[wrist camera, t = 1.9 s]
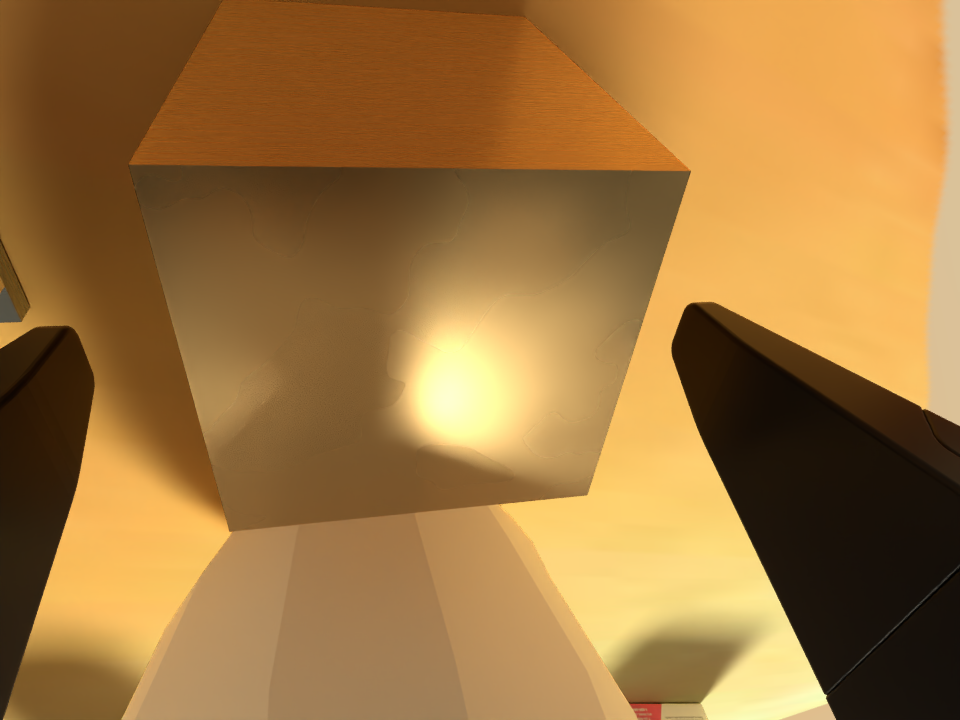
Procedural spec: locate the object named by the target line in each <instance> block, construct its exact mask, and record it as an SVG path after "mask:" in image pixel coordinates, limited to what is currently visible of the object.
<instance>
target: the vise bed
mask: <svg viewBox="0 0 960 720" xmlns="http://www.w3.org/2000/svg"><path fill="white" fill-rule="evenodd" d="M0 278H1V280H2V282H3V284H4V286H5V287H4V288H3V290H2V291H1V293H0V323H4V322H22V320H23V318H24V317H25V315H26V313H27V312H28V310H29V308H30V306H29V304H28V302H27V299H26V297H25V295H24V293H23V290H22V288H21V286H20V284H19V281H18V279H17V277H16V275H15V273H14V270H13V268H12V266H11V264H10V261H9V259H8V257H7V255H6V252H5V250H4V248H3V246H2V244H1V241H0Z"/></svg>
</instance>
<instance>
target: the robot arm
mask: <svg viewBox="0 0 960 720" xmlns="http://www.w3.org/2000/svg"><path fill="white" fill-rule="evenodd" d="M672 357H673V360H674V363H675V366H676V369H677V372H678V375H679V378H680V380H681V383H682V386H683V389H684V392H685V395H686V398H687V401H688V403H689V406H690V409H691V412H692V415H693V418H694V421H695V423H696V426H697V428H698V431H699V433H700V436H701V438H702V440H703V442H704V445H705V447H706V449H707V451H708V453H709V455H710V457H711V459H712V461H713V463H714V465H715V467H716V470H717V472H718V474H719V476H720V478H721V480H722V482H723V484H724V486H725V488H726V490H727V492H728V495H729V497H730V499H731V501H732V503H733V505H734V507H735V509H736V511H737V513H738V515H739V517H740V520H741V522H742V524H743V526H744V528H745V530H746V532H747V534H748V536H749V538H750V540H751V542H752V545H753V547H754V549H755V551H756V553H757V555H758V557H759V559H760V561H761V563H762V565H763V567H764V570H765V572H766V574H767V576H768V578H769V580H770V582H771V584H772V586H773V588H774V590H775V592H776V595H777V597H778V599H779V601H780V603H781V605H782V607H783V609H784V611H785V613H786V615H787V617H788V620H789V622H790V624H791V626H792V628H793V630H794V632H795V634H796V636H797V638H798V640H799V642H800V645H801V647H802V649H803V651H804V653H805V655H806V657H807V659H808V661H809V663H810V665H811V667H812V670H813V672H814V674H815V676H816V678H817V680H818V682H819V684H820V686H821V688H822V690H823V692H824V694H825V695H827V696H826V699H827V702H828V704H829V706H830V708H831V710H832V712H833V714H834V716H835V718H836V720H960V426H958V425H956V424H954V423H952V422H950V421H948V420H946V419H944V418H942V417H940V416H938V415H936V414H935V413H933V412H931V411H929V410H926V409H924V410H922V409H921V407H920V406H918V405H916V404H915V403H913V402H911V401H909V400H907V399H905V398H903V397H901V396H899V395H897V394H895V393H893V392H891V391H889V390H887V389H885V388H883V387H881V386H879V385H877V384H875V383H873V382H871V381H869V380H867V379H865V378H863V377H861V376H859V375H857V374H855V373H853V372H851V371H849V370H847V369H845V368H843V367H841V366H839V365H837V364H835V363H833V362H831V361H829V360H827V359H825V358H823V357H821V356H819V355H818V354H816V353H814V352H812V351H810V350H808V349H806V348H804V347H802V346H800V345H798V344H796V343H794V342H792V341H790V340H788V339H786V338H784V337H782V336H780V335H778V334H776V333H774V332H772V331H770V330H768V329H766V328H764V327H762V326H760V325H758V324H756V323H754V322H752V321H750V320H748V319H746V318H744V317H742V316H740V315H738V314H736V313H734V312H732V311H730V310H728V309H726V308H724V307H722V306H721V305H719V304H717V303H714V302H697V303H691V304H689V305H687V307H686V308H685V309H684V312H683V314H682V317H681V320H680V322H679V325H678V328H677V331H676V333H675V336H674V339H673V342H672ZM94 387H95V382H94V375H93V371H92V369H91V366H90V364H89V361H88V359H87V356H86V354H85V351H84V349H83V346H82V344H81V341H80V339H79V336H78V334H77V333H76V331H75V330H74V329H73V328H71V327H69V326H43V327H36V328H34V329H32V330H30V331H29V332H27V333H25V334H24V335H22V336H20V337H19V338H17V339H16V340H14V341H12V342H11V343H9V344H8V345H6V346H4V347H3V348H1V349H0V720H3V718H4V715H5V712H6V709H7V705H8V702H9V699H10V696H11V693H12V690H13V687H14V683H15V680H16V677H17V674H18V671H19V668H20V665H21V661H22V658H23V655H24V652H25V649H26V646H27V643H28V640H29V636H30V633H31V630H32V627H33V624H34V621H35V618H36V614H37V611H38V608H39V605H40V602H41V599H42V596H43V592H44V589H45V586H46V583H47V580H48V577H49V574H50V570H51V567H52V564H53V561H54V558H55V555H56V552H57V548H58V545H59V542H60V539H61V536H62V533H63V530H64V526H65V523H66V520H67V517H68V514H69V511H70V508H71V504H72V501H73V498H74V494H75V491H76V487H77V483H78V479H79V474H80V469H81V463H82V458H83V452H84V446H85V440H86V435H87V429H88V423H89V417H90V412H91V406H92V400H93V394H94Z"/></svg>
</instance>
